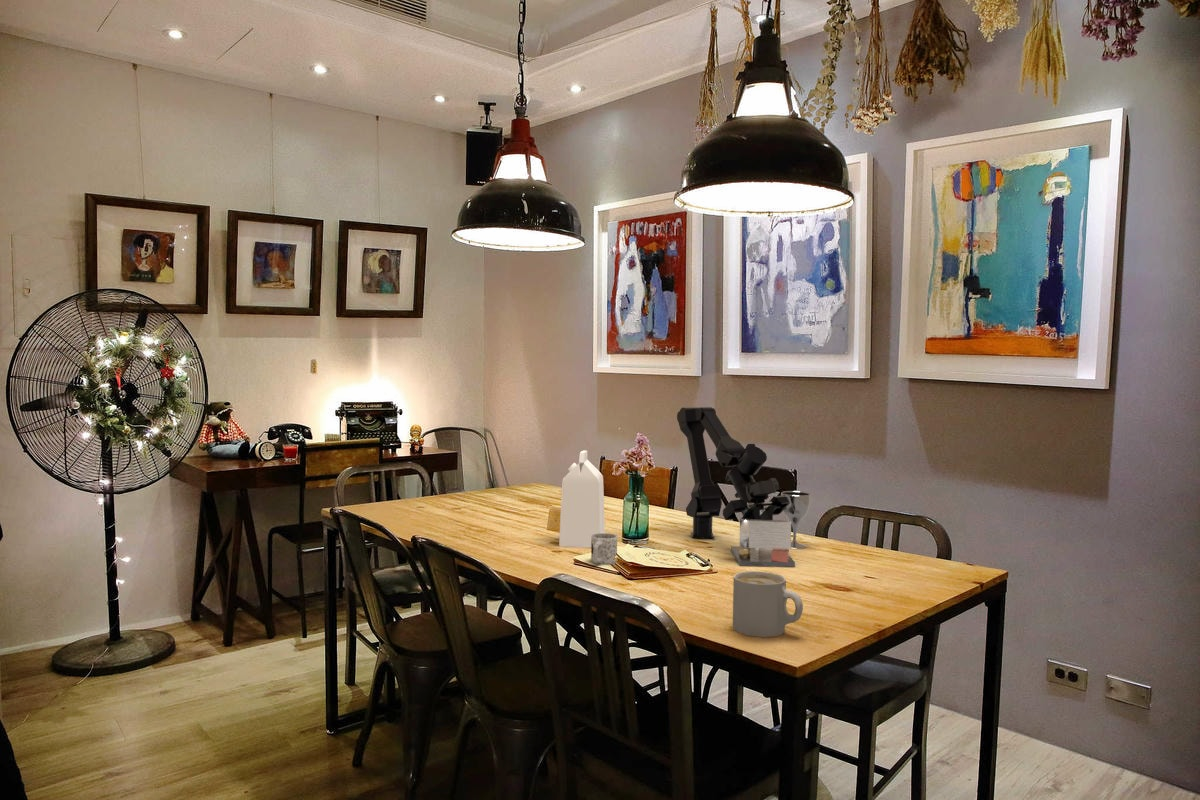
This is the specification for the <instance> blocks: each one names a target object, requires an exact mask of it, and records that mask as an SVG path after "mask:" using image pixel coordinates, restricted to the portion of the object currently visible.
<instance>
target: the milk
mask: <svg viewBox="0 0 1200 800" xmlns="http://www.w3.org/2000/svg"><path fill="white" fill-rule="evenodd" d="M567 470H568V471H569V472H568V473H566V475H565V476H563V478H562V482H561V495H560V496H561V497H560V499H561V500H560V501H561V502H560V518H559V519H560V520H559V522H560V523H559V542H558V543H559V544H558V545H559V546H558V547H560V548H563V547H564V548H582V549H583V548H585V549H586V548H588V549H591V536H592V535H593V534H599V533H606V531H605V530H606V529H605V528H606V527H605V526H606V524H605V496H604V495H605V493H604V489H605V488H604V475H603V474H602V473H601V472H600V470H599V469H598V468H597V467H596V466H595V465H593V463H591V461H590V460H589V459H588V450H582V451H580V452H579V458H578V463H576V462H573V463H572V464H571V465H570V466H569V467H568V469H567Z"/></svg>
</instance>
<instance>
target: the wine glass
mask: <svg viewBox="0 0 1200 800" xmlns="http://www.w3.org/2000/svg"><path fill="white" fill-rule="evenodd" d="M780 496H787V498H788V500H789V502H790V504H789V505H788V506H787V507H786V508H785V509H784V510H783V511H782V512H783V513H784V515H785V516H786V518H787V519H788V521H791V528H792V538H793V539H792V540H791V549H795V550H799V549H806V548H808V545H806V544H804V543H800V542H797V532H798V527H799V524H800V522H801V521H802V520H803V519H804V518H805V517H806V516H807V514H808V512H809V509H810V505H811V494H810V493H809V492H807V491H806V492H805V491H801V490H799V491H798V490H785V491H782V492H781V493H780Z"/></svg>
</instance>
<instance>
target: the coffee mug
mask: <svg viewBox="0 0 1200 800" xmlns="http://www.w3.org/2000/svg"><path fill="white" fill-rule="evenodd" d="M732 589H733V590H732V591H733V592H732V595H733V596H732V598H733V599H732V629H733V630H734V631H735V632H737V633H739V634H740V635H741V634H742V635H745V636H748V637H749V636H750V637H756V638H769V637H770V638H772V637H779V636H781V635H783V634H784V633H785V630H786V626H787V625H788V624H794V623H795V622H798V621H799V620H800V619H801V617H802V616H803V610H804V607H803V606H804V603H803V600H802V598H801V596H800V595H799V594H798V593H797V592H795V591H792V590H789V589H787V579H786V577H785V576H783V575H781V574H779V573H773V572H769V571H760V570H755V571H753V570H750V571H742V572H741V571H740V572H737V573H735V574H734V575H733V588H732ZM788 599H791V600H792V601H793V603H794V607H795V608H794V613H793V614H791V613H789V612H788V607H787V600H788Z"/></svg>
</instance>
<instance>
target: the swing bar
mask: <svg viewBox="0 0 1200 800" xmlns="http://www.w3.org/2000/svg"><path fill="white" fill-rule="evenodd" d="M791 542H792V524H791V521H790V520H780V519H779V520H777V519H776V520H775V519H773V520H758V519H741V518H739V546H740V547H743V548H768V549H787V550H789V551H790V550H791V549H792V548H791Z"/></svg>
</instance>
